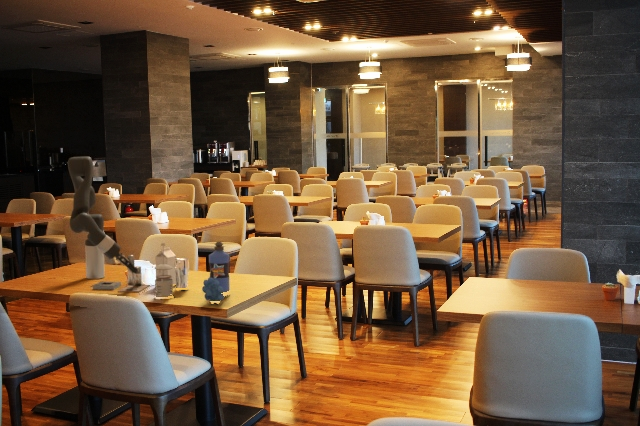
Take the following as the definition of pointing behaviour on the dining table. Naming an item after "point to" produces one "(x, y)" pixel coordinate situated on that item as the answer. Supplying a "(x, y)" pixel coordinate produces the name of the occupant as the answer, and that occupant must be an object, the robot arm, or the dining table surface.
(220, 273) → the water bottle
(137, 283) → the short bit
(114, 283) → the socket block
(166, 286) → the french press
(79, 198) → the robot arm
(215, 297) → the grapes
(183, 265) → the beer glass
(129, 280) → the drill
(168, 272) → the milk carton
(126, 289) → the rack
